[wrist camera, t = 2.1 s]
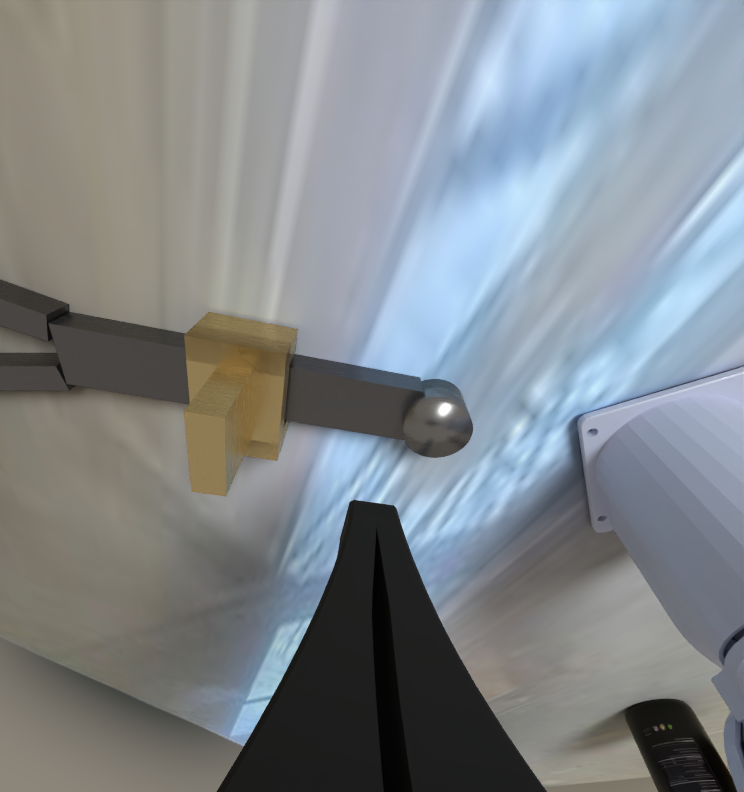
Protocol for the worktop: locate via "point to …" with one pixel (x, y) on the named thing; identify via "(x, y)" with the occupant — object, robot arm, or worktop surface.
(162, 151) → the worktop surface
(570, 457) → the worktop surface
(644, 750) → the supplement bottle
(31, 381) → the grey long bar part
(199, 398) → the collar
